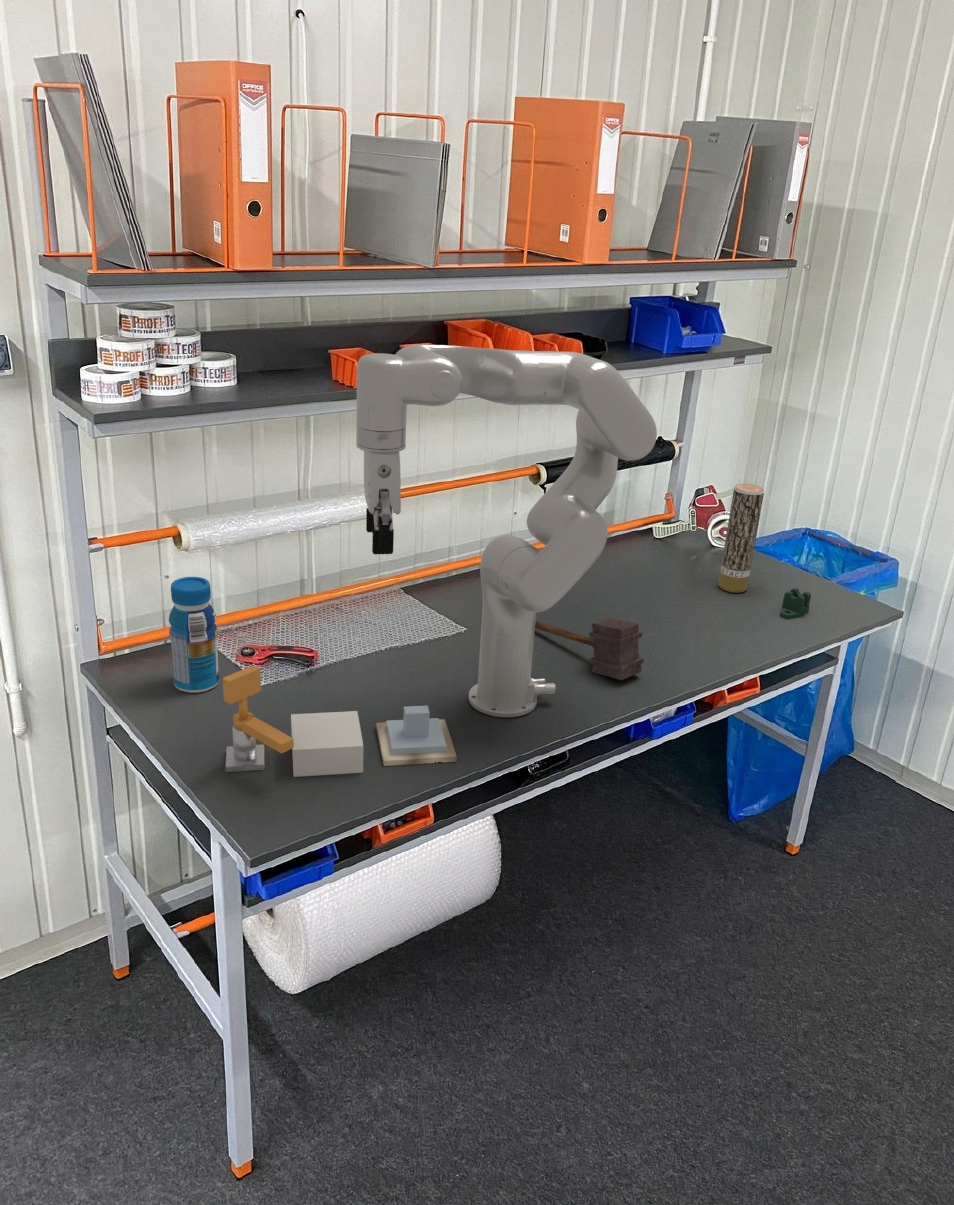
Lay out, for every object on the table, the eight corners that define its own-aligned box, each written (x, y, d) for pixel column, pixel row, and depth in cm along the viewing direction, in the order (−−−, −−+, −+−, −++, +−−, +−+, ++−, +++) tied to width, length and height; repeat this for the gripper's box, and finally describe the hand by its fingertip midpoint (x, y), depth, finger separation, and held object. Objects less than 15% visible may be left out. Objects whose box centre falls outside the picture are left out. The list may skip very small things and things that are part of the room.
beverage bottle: (164, 690, 184) (156, 588, 175) (186, 669, 191) (180, 571, 183) (207, 697, 182) (201, 595, 174) (228, 676, 190) (223, 577, 181)
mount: (792, 622, 227) (796, 602, 225) (773, 616, 230) (777, 595, 228) (813, 609, 235) (818, 589, 233) (796, 603, 237) (800, 583, 235)
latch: (302, 743, 158) (301, 690, 154) (272, 758, 154) (270, 704, 150) (252, 715, 165) (250, 663, 161) (222, 728, 160) (219, 676, 157)
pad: (444, 724, 178) (444, 719, 178) (456, 761, 167) (456, 756, 167) (376, 727, 176) (376, 722, 175) (383, 765, 165) (383, 760, 165)
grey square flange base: (264, 749, 168) (263, 715, 165) (264, 769, 162) (263, 734, 160) (226, 751, 166) (225, 717, 164) (225, 772, 161) (223, 736, 158)
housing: (357, 736, 173) (357, 711, 171) (363, 772, 163) (363, 745, 161) (291, 740, 171) (290, 714, 169) (293, 776, 161) (293, 749, 159)
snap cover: (437, 723, 176) (439, 695, 174) (446, 751, 168) (447, 722, 166) (386, 726, 174) (386, 697, 172) (392, 755, 166) (392, 725, 164)
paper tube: (724, 580, 247) (741, 481, 237) (751, 588, 244) (769, 488, 234) (713, 588, 242) (729, 488, 232) (740, 596, 239) (757, 494, 228)
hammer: (622, 681, 194) (620, 631, 191) (506, 649, 218) (503, 604, 215) (645, 672, 198) (643, 622, 195) (529, 641, 222) (526, 597, 219)
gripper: (413, 453, 148) (409, 562, 155) (398, 423, 163) (396, 523, 170) (361, 453, 146) (360, 563, 153) (351, 423, 162) (351, 524, 169)
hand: (379, 542), depth 162 cm, fingers open, 9 cm apart
